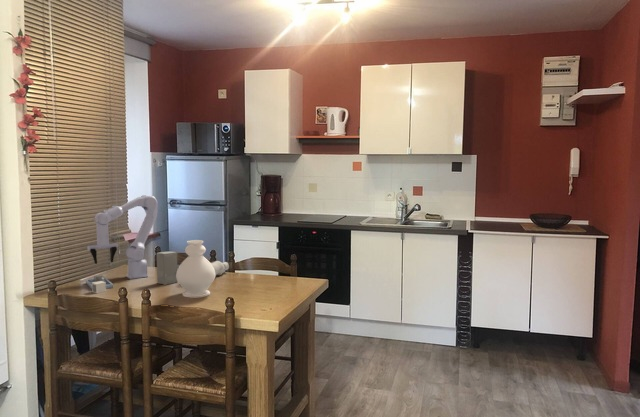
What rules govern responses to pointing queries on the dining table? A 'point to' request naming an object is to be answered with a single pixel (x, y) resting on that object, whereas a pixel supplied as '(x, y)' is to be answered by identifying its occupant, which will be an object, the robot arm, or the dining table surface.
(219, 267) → the bottle
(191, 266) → the decorative vase
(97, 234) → the robot arm
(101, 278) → the plug
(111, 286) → the tray
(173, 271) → the skincare box
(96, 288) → the block
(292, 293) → the dining table surface
